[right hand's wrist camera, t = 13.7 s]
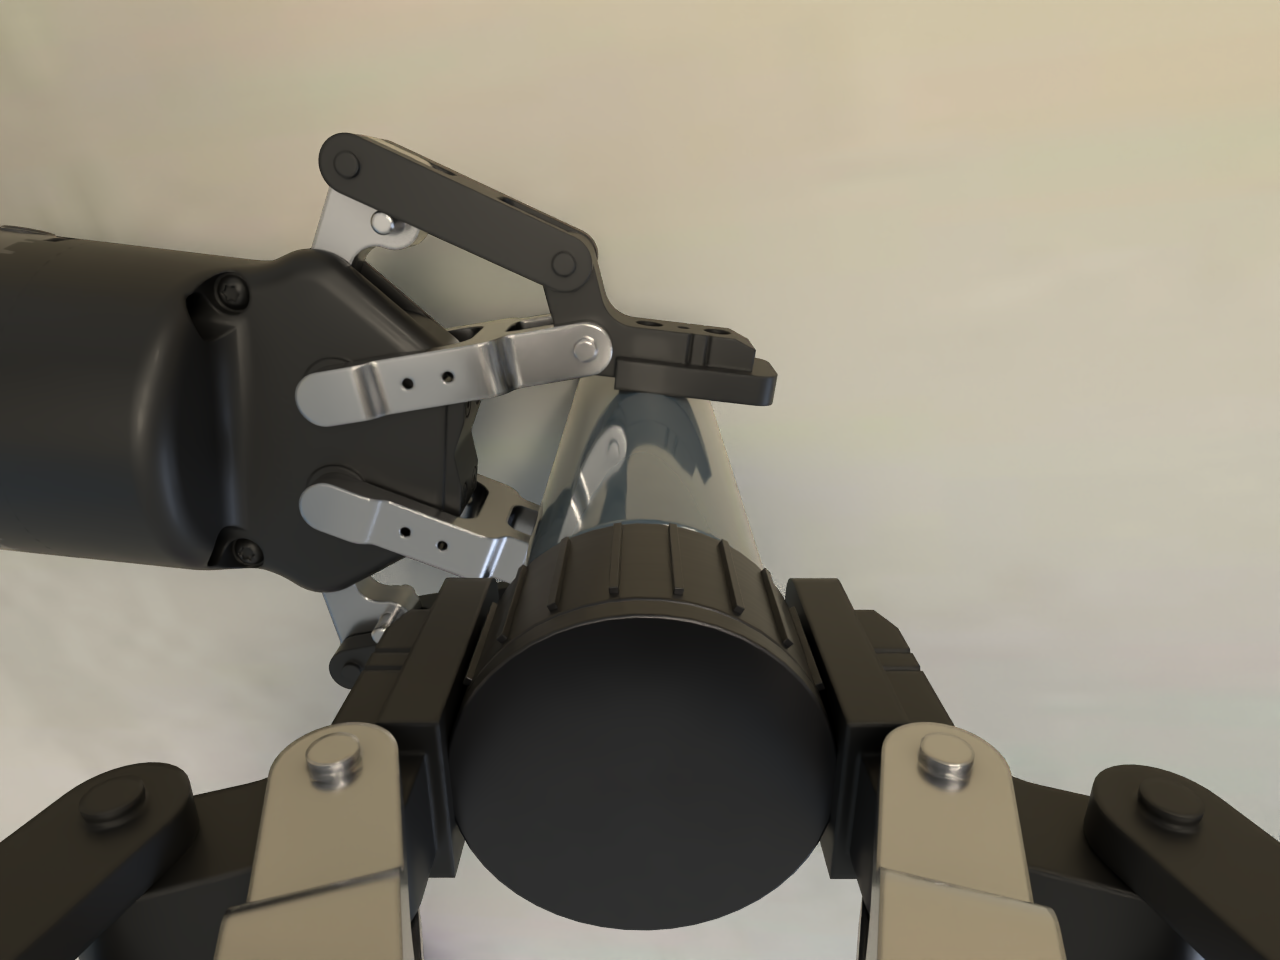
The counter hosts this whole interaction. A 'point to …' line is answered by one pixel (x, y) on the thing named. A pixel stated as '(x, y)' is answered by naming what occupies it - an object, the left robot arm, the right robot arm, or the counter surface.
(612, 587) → the lid
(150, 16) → the counter surface
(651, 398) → the grey cylinder
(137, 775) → the right robot arm
